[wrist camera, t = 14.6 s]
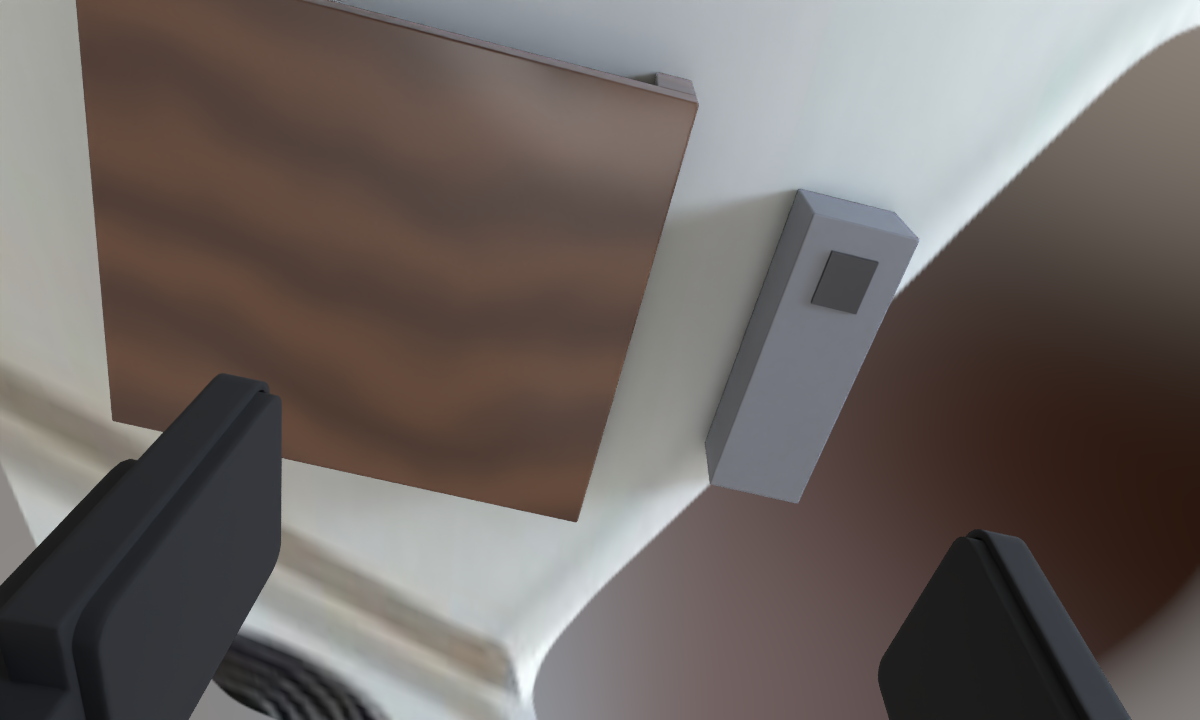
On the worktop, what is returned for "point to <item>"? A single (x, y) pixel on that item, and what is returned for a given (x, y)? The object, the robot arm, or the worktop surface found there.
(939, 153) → the worktop surface
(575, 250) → the shelf
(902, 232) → the grey long block
